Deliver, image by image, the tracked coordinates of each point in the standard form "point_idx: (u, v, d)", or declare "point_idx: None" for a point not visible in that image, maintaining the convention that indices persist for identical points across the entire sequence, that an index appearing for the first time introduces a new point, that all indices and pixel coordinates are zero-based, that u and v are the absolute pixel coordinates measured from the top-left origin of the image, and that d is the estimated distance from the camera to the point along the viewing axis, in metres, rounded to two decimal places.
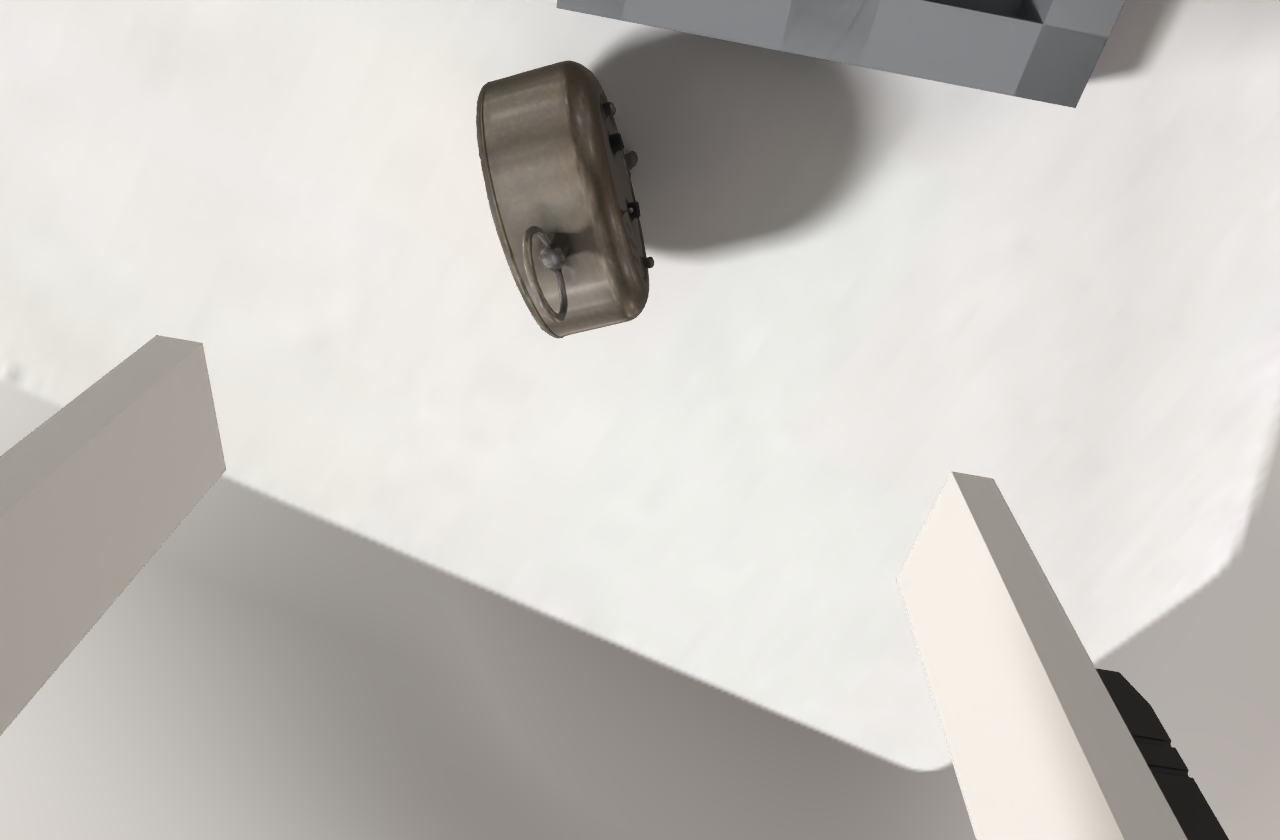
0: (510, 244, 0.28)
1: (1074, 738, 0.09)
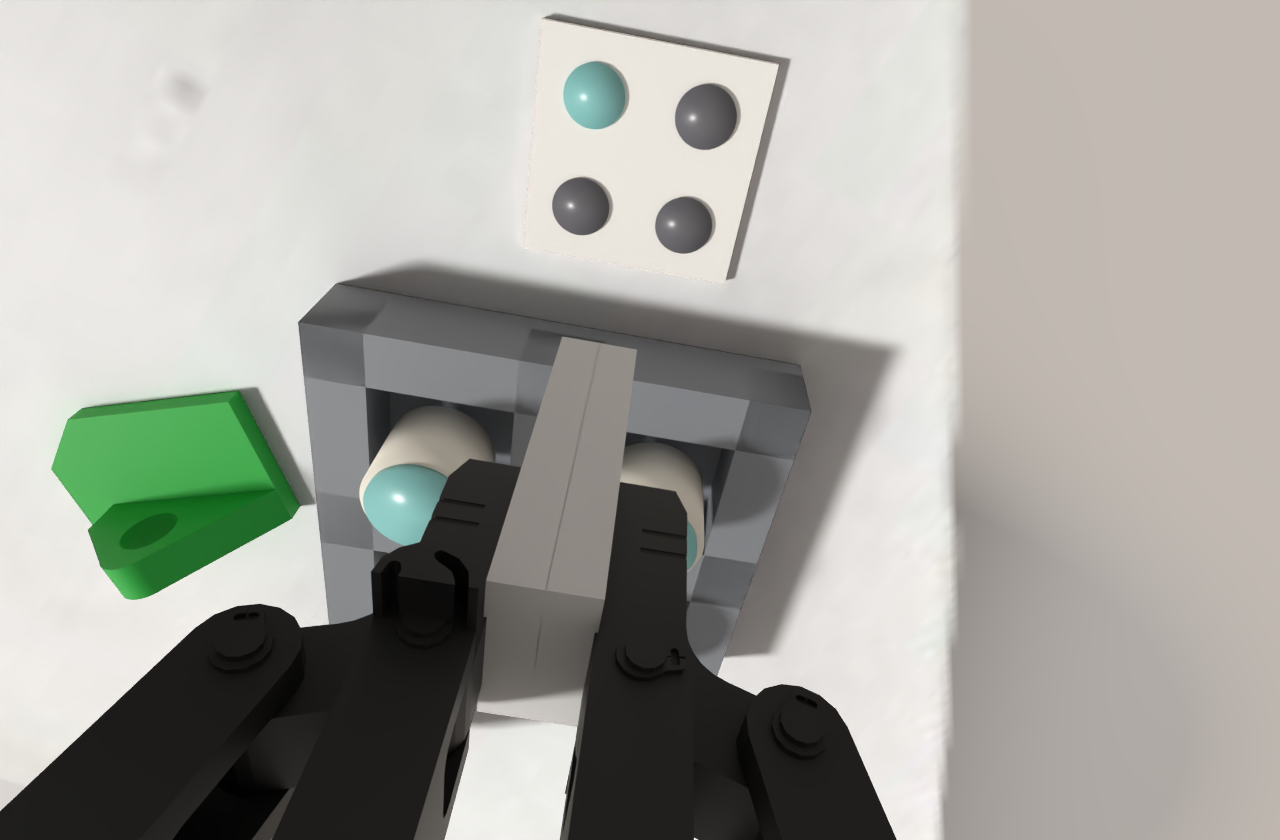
0: None
1: (562, 515, 0.10)
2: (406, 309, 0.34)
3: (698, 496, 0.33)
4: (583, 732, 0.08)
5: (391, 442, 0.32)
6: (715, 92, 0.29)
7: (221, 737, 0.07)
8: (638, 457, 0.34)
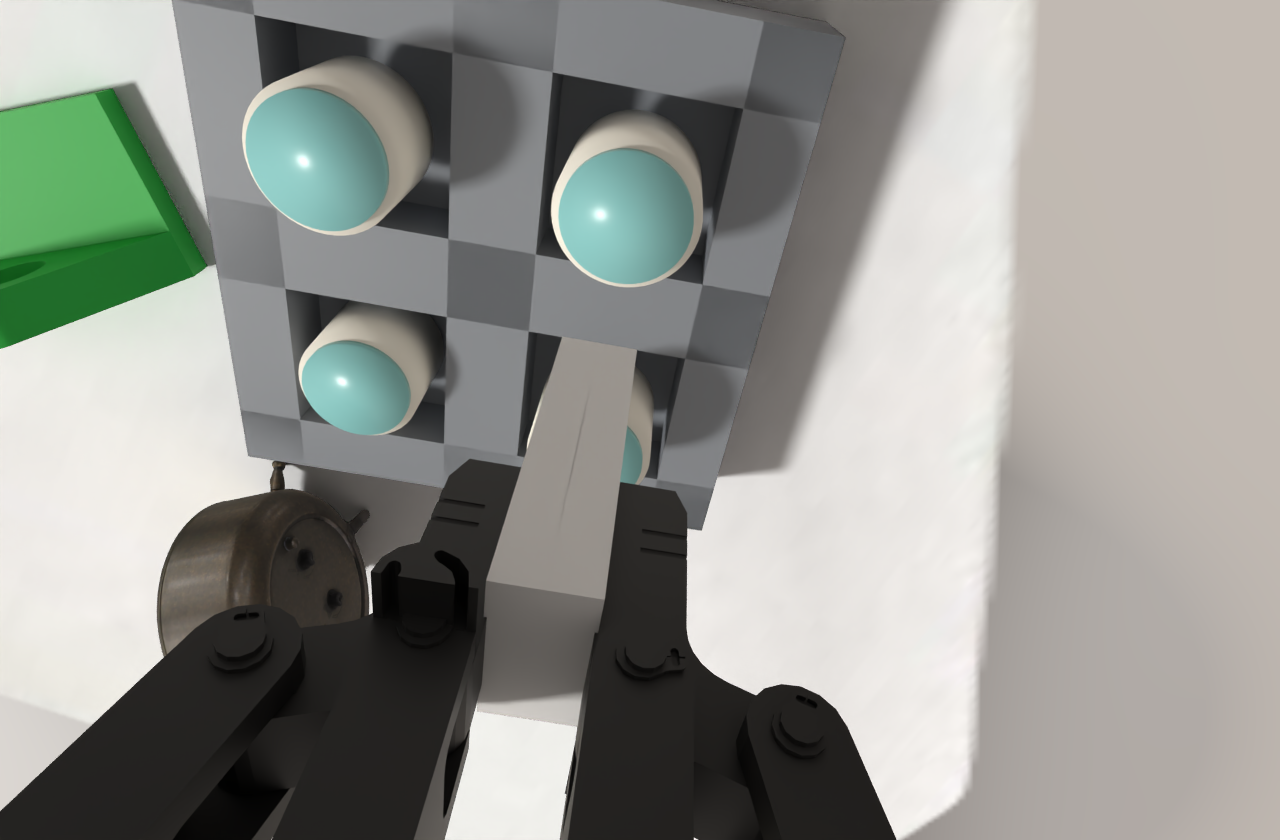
0: None
1: (562, 515, 0.10)
2: None
3: (695, 166, 0.25)
4: (583, 732, 0.08)
5: None
6: None
7: (221, 737, 0.07)
8: (616, 118, 0.26)
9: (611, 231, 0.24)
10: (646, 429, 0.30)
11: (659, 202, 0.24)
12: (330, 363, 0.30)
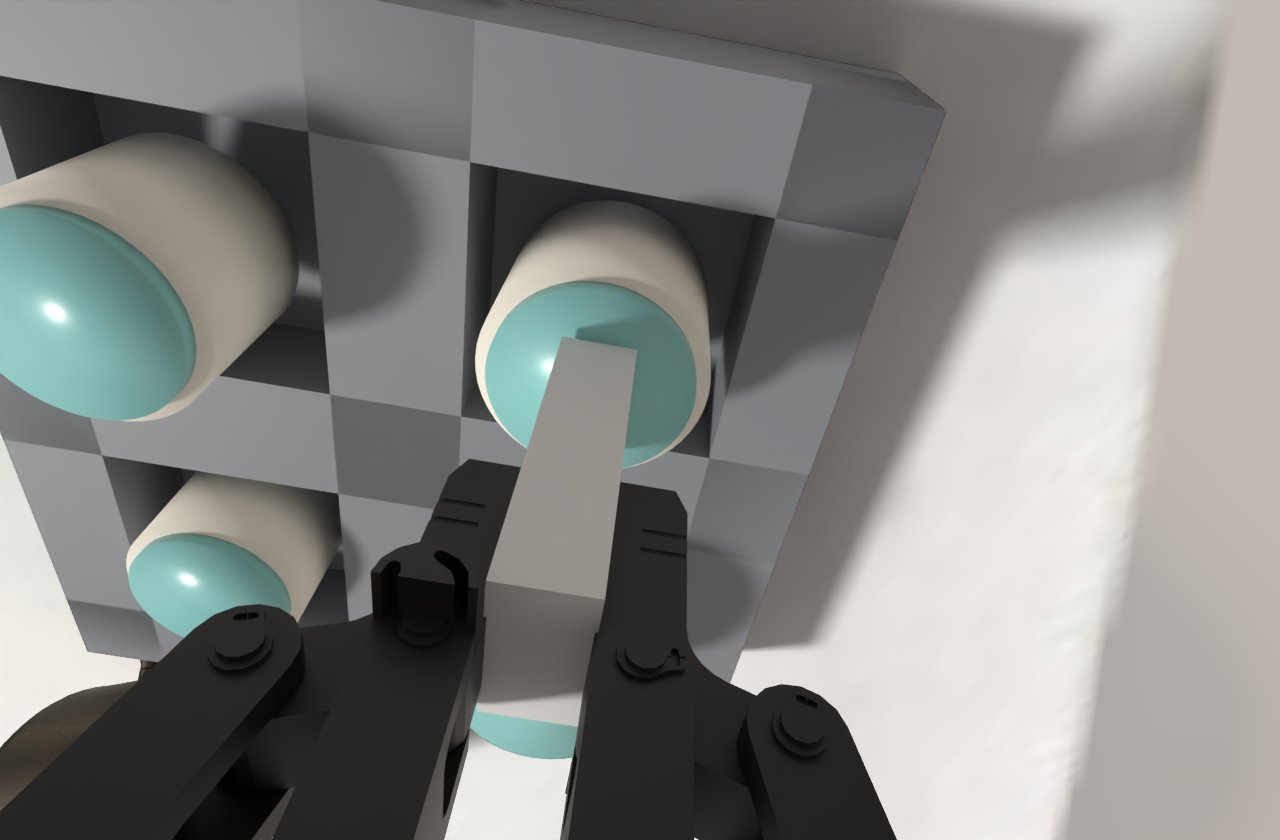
0: None
1: (563, 515, 0.10)
2: None
3: (698, 292, 0.17)
4: (583, 732, 0.08)
5: None
6: None
7: (221, 736, 0.07)
8: (579, 218, 0.17)
9: None
10: None
11: (642, 362, 0.15)
12: (166, 565, 0.21)
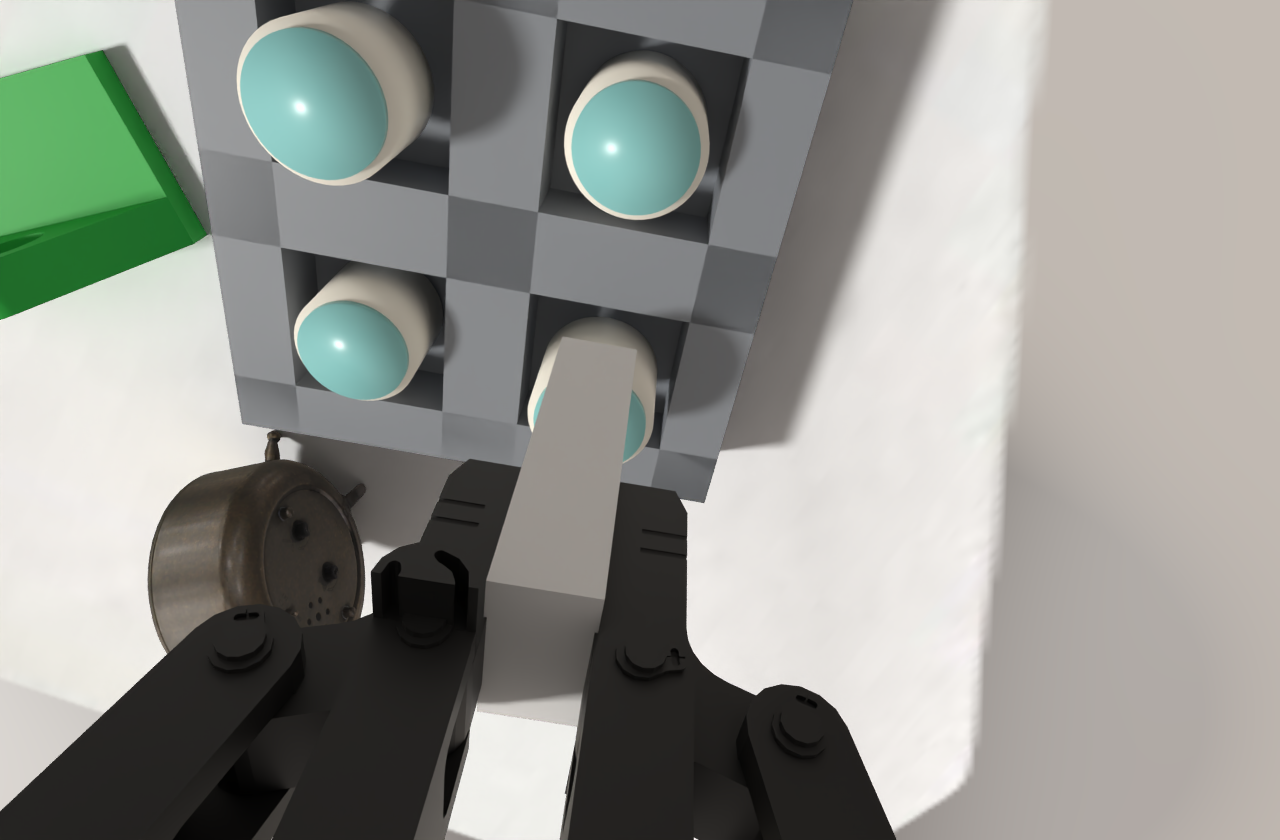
0: None
1: (562, 515, 0.10)
2: None
3: (702, 102, 0.26)
4: (583, 732, 0.08)
5: None
6: None
7: (221, 737, 0.07)
8: (627, 57, 0.27)
9: (622, 162, 0.26)
10: (650, 393, 0.29)
11: (668, 133, 0.25)
12: (326, 324, 0.30)
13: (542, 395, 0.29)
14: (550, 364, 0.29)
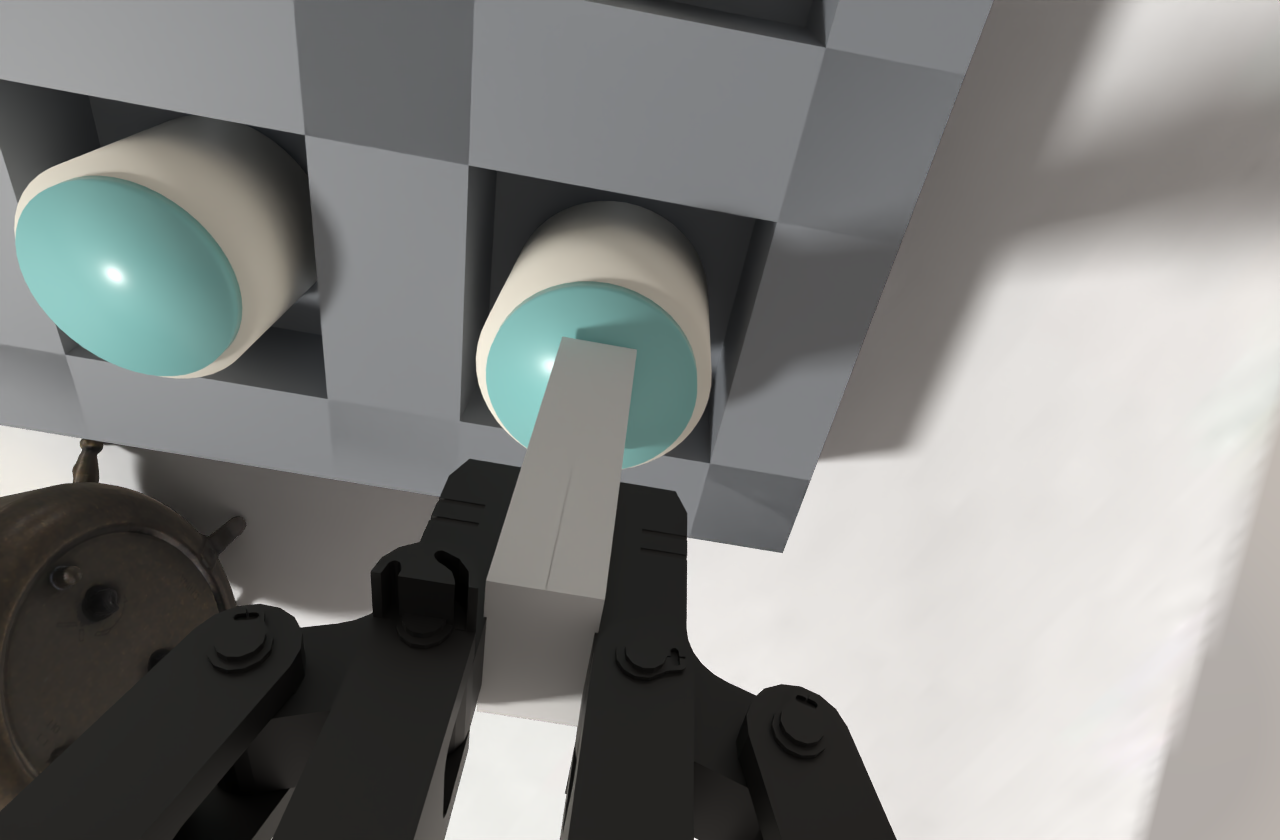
0: None
1: (562, 515, 0.10)
2: None
3: None
4: (583, 732, 0.08)
5: None
6: None
7: (221, 736, 0.07)
8: None
9: None
10: (704, 328, 0.16)
11: None
12: (66, 224, 0.15)
13: (500, 330, 0.15)
14: (517, 275, 0.16)
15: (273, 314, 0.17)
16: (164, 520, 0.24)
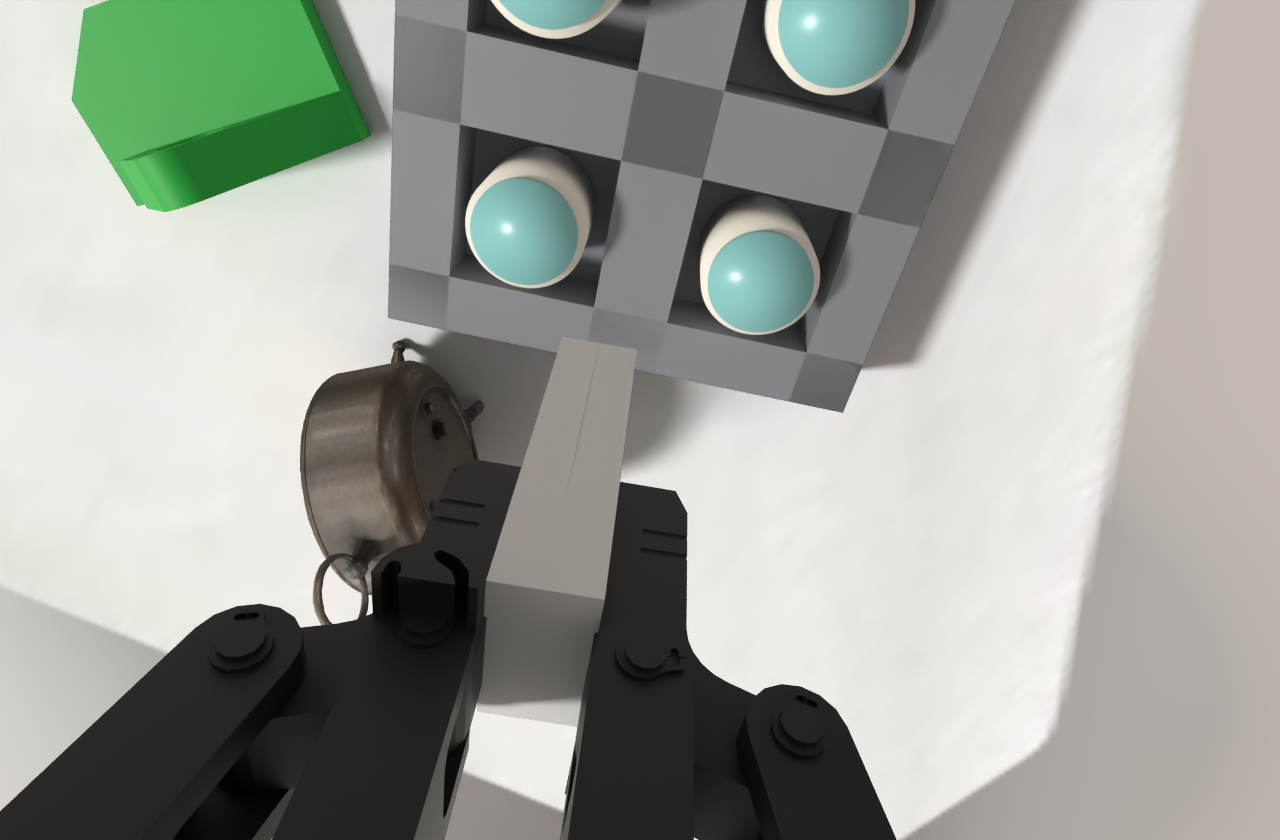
0: (325, 545, 0.32)
1: (562, 515, 0.10)
2: None
3: None
4: (583, 732, 0.08)
5: None
6: None
7: (221, 737, 0.07)
8: None
9: (827, 30, 0.26)
10: None
11: None
12: (503, 200, 0.30)
13: (721, 252, 0.31)
14: (724, 228, 0.31)
15: None
16: (452, 392, 0.39)
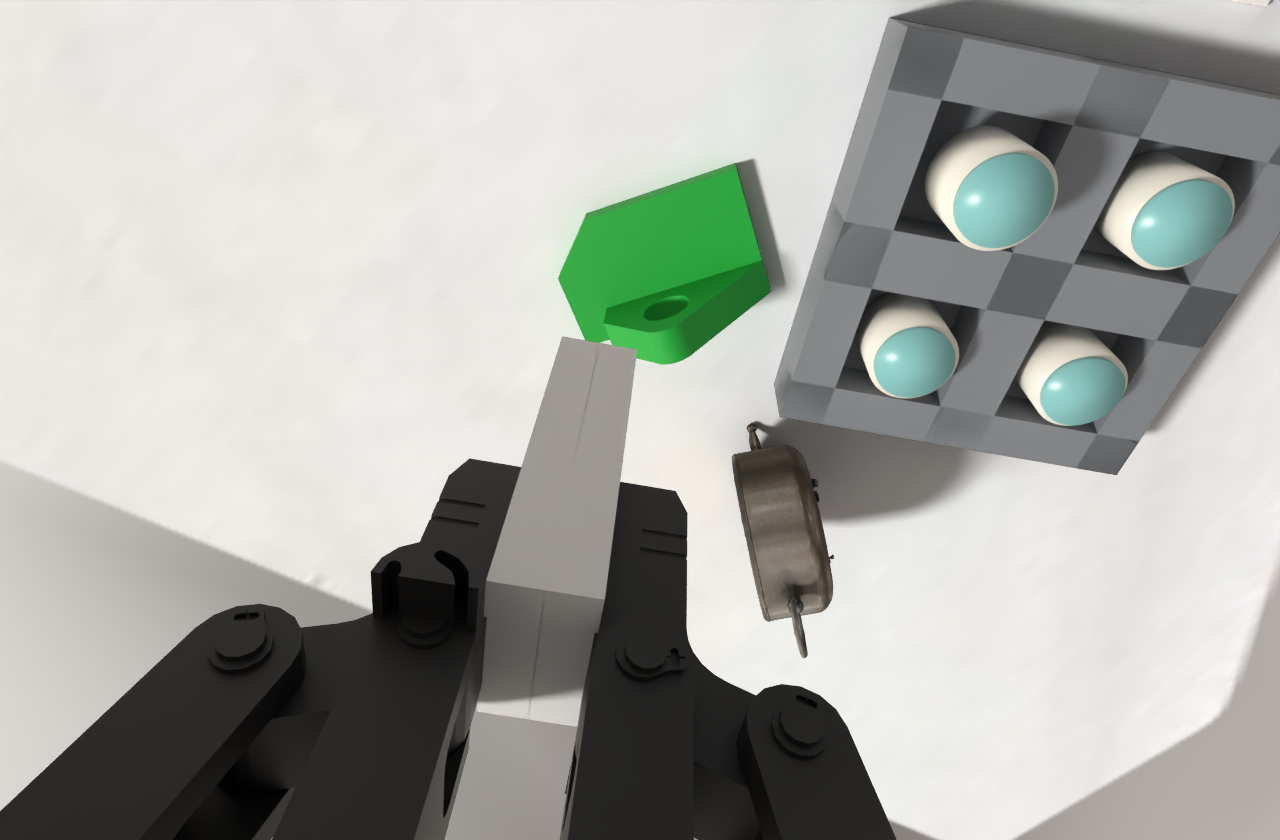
0: (764, 590, 0.44)
1: (562, 516, 0.10)
2: (966, 34, 0.37)
3: None
4: (583, 732, 0.08)
5: (975, 144, 0.35)
6: None
7: (221, 737, 0.07)
8: (1156, 158, 0.39)
9: (1170, 232, 0.37)
10: None
11: (1210, 213, 0.37)
12: (906, 343, 0.41)
13: (1058, 373, 0.42)
14: (1055, 352, 0.43)
15: None
16: None
